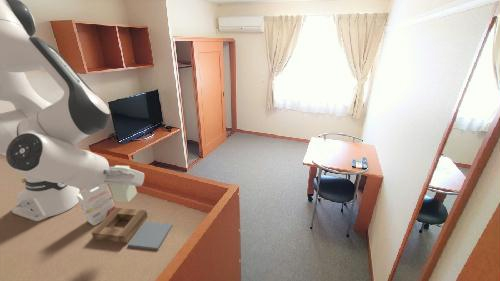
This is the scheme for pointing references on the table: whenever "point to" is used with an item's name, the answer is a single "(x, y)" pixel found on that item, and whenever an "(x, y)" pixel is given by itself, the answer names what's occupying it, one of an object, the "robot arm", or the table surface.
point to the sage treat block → (123, 190)
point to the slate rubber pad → (150, 235)
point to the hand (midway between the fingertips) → (123, 181)
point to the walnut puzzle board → (120, 235)
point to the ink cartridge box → (96, 203)
